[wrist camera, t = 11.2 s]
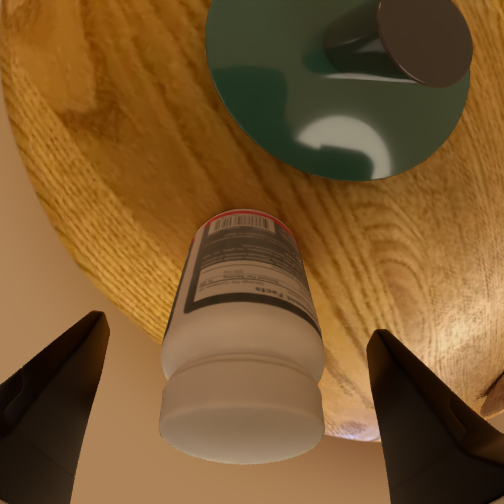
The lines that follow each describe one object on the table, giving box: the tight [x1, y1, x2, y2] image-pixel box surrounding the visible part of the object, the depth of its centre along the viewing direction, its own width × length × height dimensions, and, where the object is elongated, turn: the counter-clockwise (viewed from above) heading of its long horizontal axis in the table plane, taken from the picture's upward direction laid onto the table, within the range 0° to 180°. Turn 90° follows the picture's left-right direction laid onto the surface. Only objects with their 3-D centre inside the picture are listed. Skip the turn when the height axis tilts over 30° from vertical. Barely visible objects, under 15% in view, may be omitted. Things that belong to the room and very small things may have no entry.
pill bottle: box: [159, 209, 325, 464], centre depth 10 cm, size 5×5×8 cm
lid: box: [205, 0, 473, 182], centre depth 6 cm, size 10×10×6 cm
